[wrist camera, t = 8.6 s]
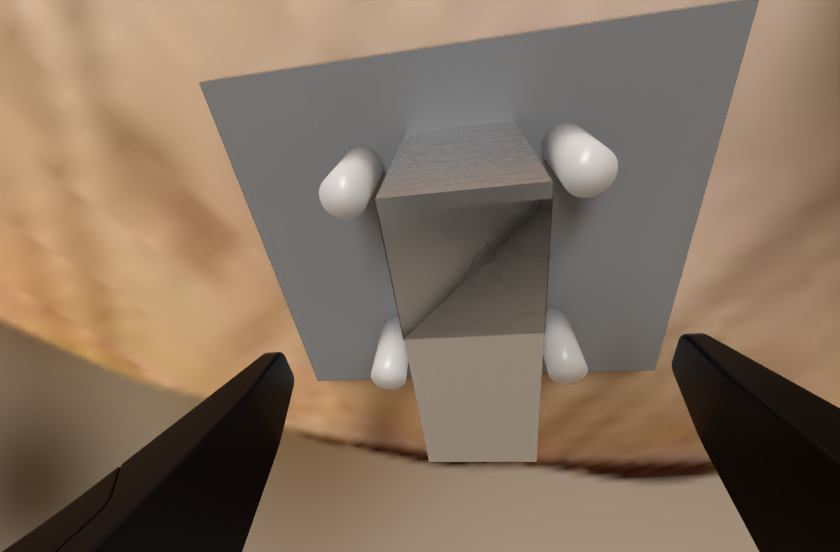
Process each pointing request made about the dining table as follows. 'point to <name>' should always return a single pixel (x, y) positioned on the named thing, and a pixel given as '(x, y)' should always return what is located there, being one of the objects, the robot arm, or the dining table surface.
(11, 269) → the dining table surface
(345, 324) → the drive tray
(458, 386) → the block
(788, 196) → the dining table surface
